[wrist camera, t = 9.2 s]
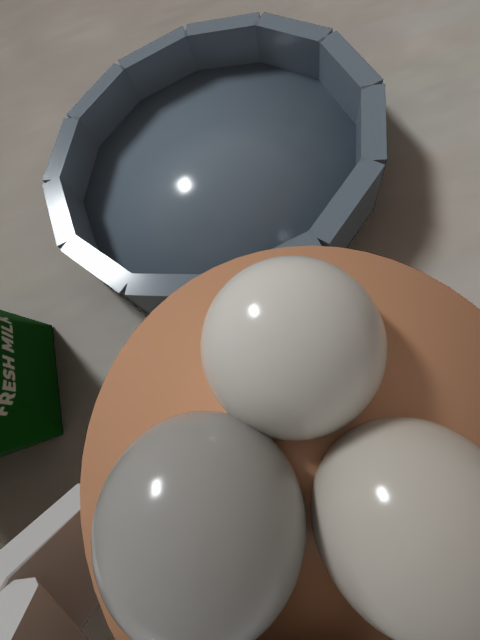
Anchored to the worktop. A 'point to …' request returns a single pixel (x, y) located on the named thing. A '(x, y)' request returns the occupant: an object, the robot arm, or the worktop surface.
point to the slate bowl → (217, 153)
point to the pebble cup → (291, 457)
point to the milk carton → (27, 384)
